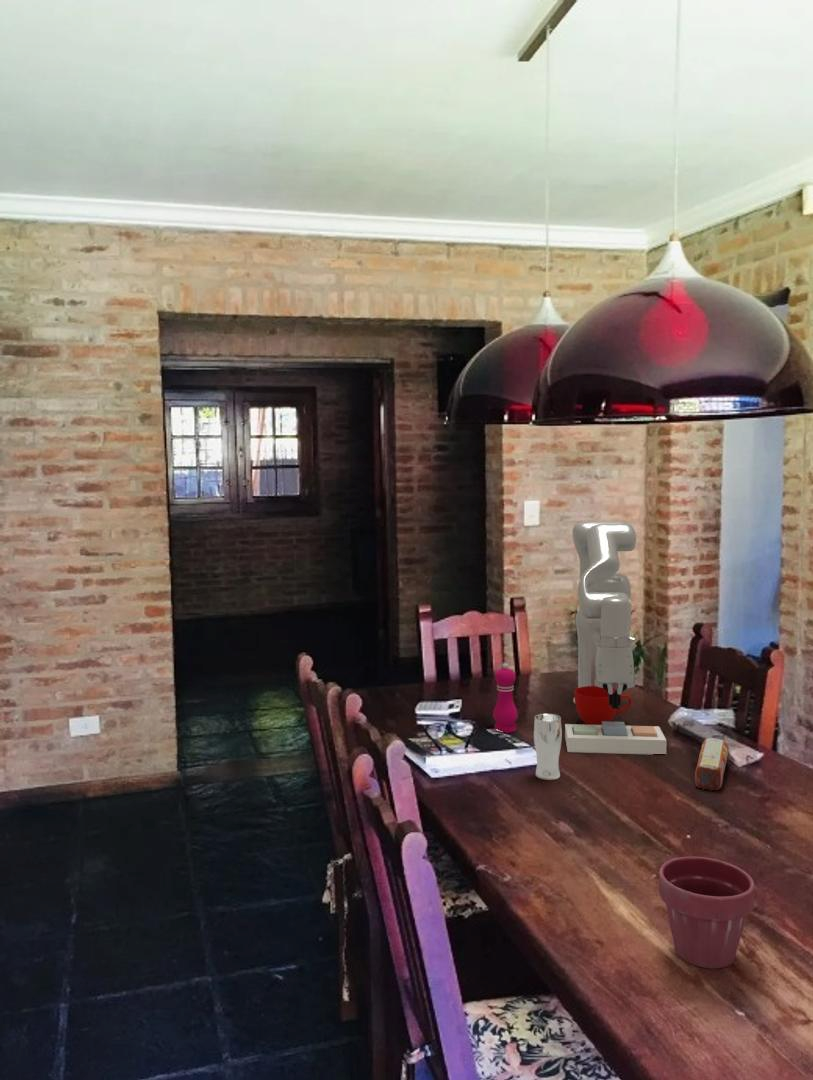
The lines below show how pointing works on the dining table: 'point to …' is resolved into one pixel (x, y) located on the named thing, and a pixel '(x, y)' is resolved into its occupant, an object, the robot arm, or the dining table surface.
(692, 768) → the dining table surface
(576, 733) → the button sage
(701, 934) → the plant pot
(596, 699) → the ceramic cup
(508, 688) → the pepper mill
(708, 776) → the snack package
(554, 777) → the beer glass
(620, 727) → the button slate
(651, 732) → the button terracotta
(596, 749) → the button panel
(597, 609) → the robot arm
